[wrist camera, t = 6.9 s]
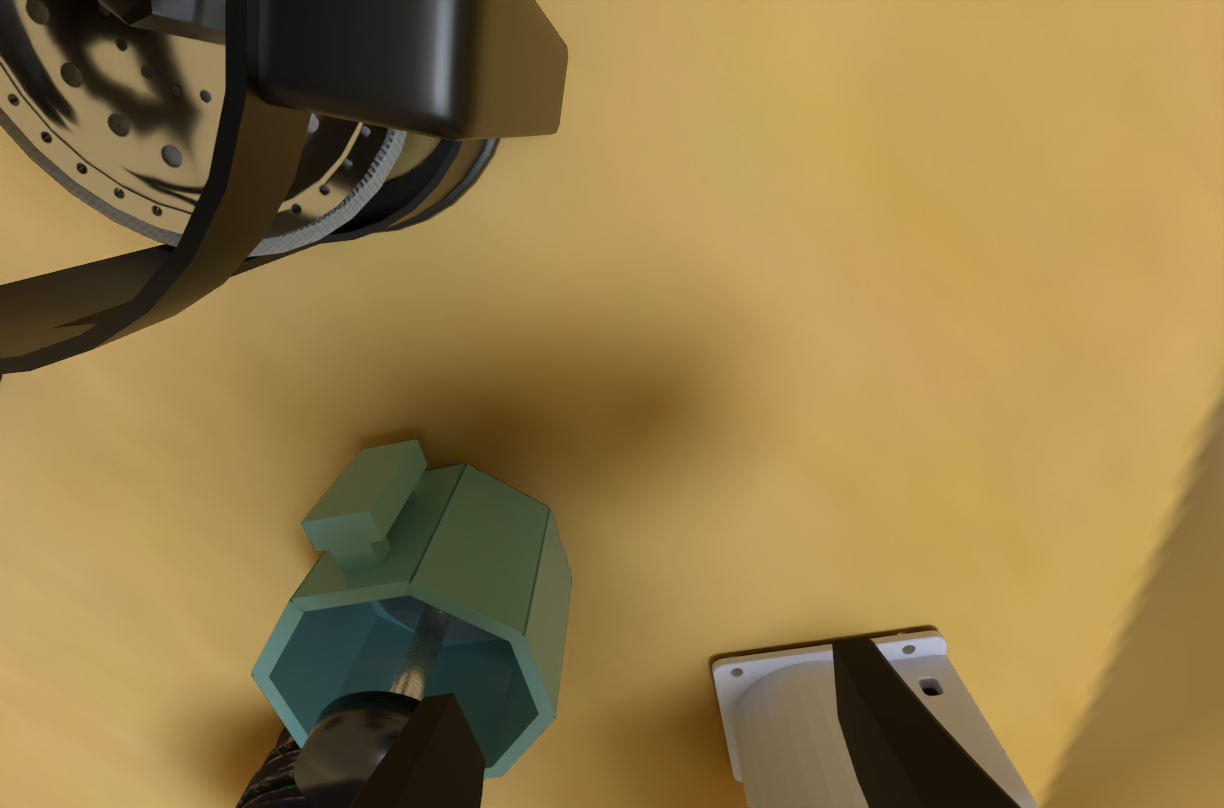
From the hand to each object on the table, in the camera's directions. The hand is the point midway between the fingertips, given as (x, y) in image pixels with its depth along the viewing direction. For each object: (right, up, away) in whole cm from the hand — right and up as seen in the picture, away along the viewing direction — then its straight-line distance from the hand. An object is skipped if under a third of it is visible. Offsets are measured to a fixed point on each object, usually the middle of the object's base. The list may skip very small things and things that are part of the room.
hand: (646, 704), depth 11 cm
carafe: (-7, -1, +12) cm, 14 cm away
